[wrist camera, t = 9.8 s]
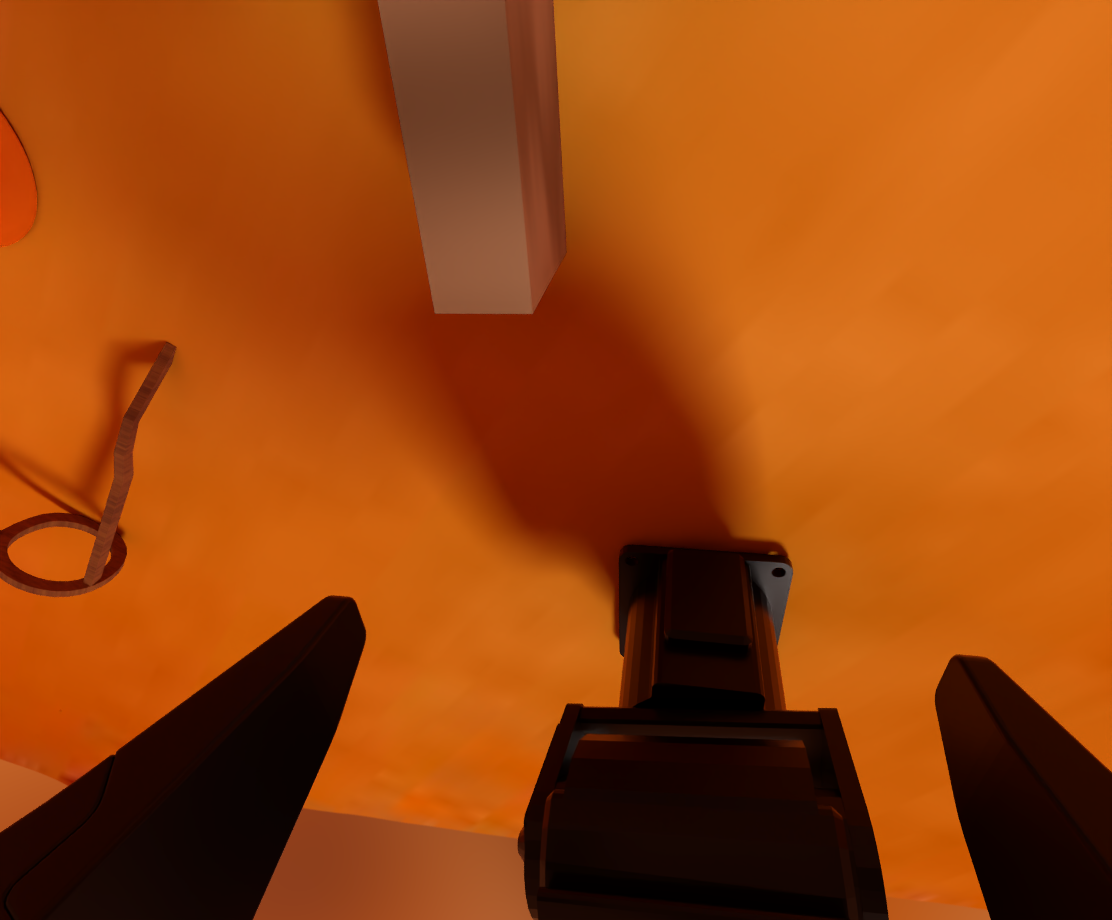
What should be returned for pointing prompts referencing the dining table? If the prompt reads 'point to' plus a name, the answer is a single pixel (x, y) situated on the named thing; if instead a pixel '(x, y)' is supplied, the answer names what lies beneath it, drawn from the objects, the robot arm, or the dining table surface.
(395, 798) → the dining table surface
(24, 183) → the beer glass
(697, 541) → the dining table surface
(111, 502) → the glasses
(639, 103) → the dining table surface
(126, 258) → the dining table surface
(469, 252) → the scraper
